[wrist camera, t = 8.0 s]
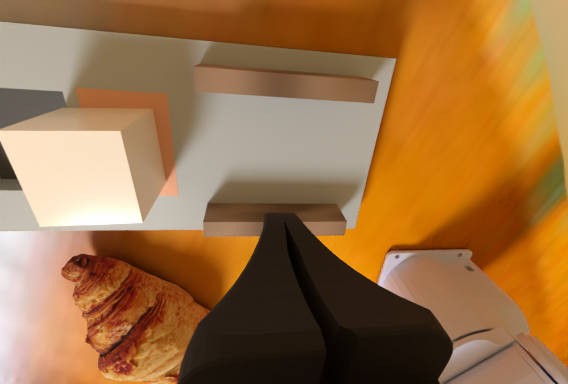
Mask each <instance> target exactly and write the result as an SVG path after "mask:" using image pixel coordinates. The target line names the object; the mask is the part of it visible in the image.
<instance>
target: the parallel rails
mask: <svg viewBox="0 0 568 384" xmlns="http://www.w3.org/2000/svg"><path fill="white" fill-rule="evenodd" d="M193 78H194V92H208V93H223V94H238V95H253V96H268V97H283V98H298V99H314V100H329V101H344V102H359V103H374V101H375V97H376V93H377V88H378V84H379V81H376V80H372V79H369V78H365V77H359V76H346V75H334V74H322V73H309V72H297V71H285V70H272V69H260V68H248V67H235V66H223V65H211V64H198V65H195V66H193ZM266 213H295V214H296V215H297V216H298V217H299V219H300V220H301V221H302V222H303V223H304V224H305V226H306V227H307V228H308V229H309V230H310V231H311V232H312V233H313V234H314V235H315V236H320V235H344V234H345V229H346V225H347V220H346V219H345V217H344V215H343V214H342V212H341V210H340V208H339V207H338V205H337V204H270V203H207V207H206V212H205V216H204V220H203V229H204V237H228V236H260V235H261V232H262V229H263V221H264V215H265V214H266Z"/></svg>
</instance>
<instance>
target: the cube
mask: <svg viewBox="0 0 568 384" xmlns="http://www.w3.org/2000/svg"><path fill="white" fill-rule="evenodd" d="M0 142H1V144H2V146H3V148H4V150H5V152H6V155H7V157H8V159H9V161H10V163H11V165H12V168H13V170H14V172H15V174H16V176H17V178H18V180H19V183H20V185H21V187H22V189H23V191H24V193H25V196H26V198H27V200H28V202H29V204H30V206H31V209H32V211H33V213H34V215H35V217H36V219H37V222H38V224H39V226H40V227H48V226H74V225H100V224H126V223H143V222H144V220H145V218H146V217H147V215H148V213H149V211H150V210H151V208H152V206H153V204H154V203H155V201H156V199H157V197H158V196H159V194H160V192H161V190H162V189H163V187H164V185H165V183H166V178H165V173H164V167H163V162H162V156H161V151H160V145H159V140H158V134H157V129H156V123H155V118H154V113H153V109H141V108H60V109H57V110H55V111H52V112H49V113H46V114H43V115H40V116H37V117H34V118H31V119H28V120H25V121H22V122H19V123H16V124H14V125H11V126H8V127H5V128H2V129H0Z"/></svg>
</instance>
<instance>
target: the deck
mask: <svg viewBox="0 0 568 384" xmlns="http://www.w3.org/2000/svg"><path fill="white" fill-rule="evenodd" d="M395 62H396V59H395V58H384V57H373V56H363V55H352V54H341V53H331V52H320V51H309V50H299V49H288V48H277V47H267V46H256V45H245V44H235V43H224V42H213V41H203V40H192V39H181V38H171V37H160V36H149V35H138V34H128V33H117V32H106V31H96V30H85V29H74V28H64V27H53V26H42V25H32V24H21V23H10V22H0V129H2V128H5V127H8V126H11V125H14V124H16V123H19V122H22V121H25V120H28V119H31V118H34V117H37V116H40V115H43V114H46V113H49V112H52V111H55V110H57V109H60V108H141V109H153V113H154V118H155V123H156V129H157V134H158V140H159V145H160V151H161V156H162V162H163V167H164V173H165V178H166V183H165V185H164V187H163V189H162V190H161V192H160V194H159V196H158V197H157V199H156V201H155V203H154V204H153V206H152V208H151V210H150V211H149V213H148V215H147V217H146V218H145V220H144V222H143V223H126V224H100V225H74V226H48V227H40V226H39V224H38V222H37V219H36V217H35V215H34V213H33V211H32V209H31V206H30V204H29V202H28V200H27V198H26V196H25V193H24V191H23V189H22V187H21V185H20V183H19V180H18V178H17V176H16V174H15V172H14V170H13V168H12V165H11V163H10V161H9V159H8V157H7V155H6V152H5V150H4V148H3V146H2V144H1V142H0V231H77V230H204V229H203V220H204V216H205V212H206V207H207V203H270V204H337V205H338V207H339V208H340V210H341V212H342V214H343V215H344V217H345V219H346V220H347V225H346V229H355V225H356V221H357V217H358V213H359V209H360V205H361V201H362V197H363V192H364V188H365V184H366V180H367V176H368V172H369V168H370V164H371V160H372V156H373V152H374V148H375V144H376V140H377V135H378V131H379V127H380V123H381V119H382V115H383V111H384V107H385V103H386V99H387V95H388V91H389V87H390V83H391V78H392V74H393V70H394V66H395ZM198 64H211V65H223V66H235V67H248V68H260V69H272V70H285V71H297V72H309V73H322V74H334V75H346V76H359V77H365V78H369V79H372V80H376V81H379V84H378V88H377V93H376V97H375V101H374V103H359V102H344V101H329V100H314V99H298V98H283V97H268V96H253V95H238V94H223V93H208V92H194V78H193V66H195V65H198Z"/></svg>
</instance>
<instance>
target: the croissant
mask: <svg viewBox="0 0 568 384" xmlns="http://www.w3.org/2000/svg"><path fill="white" fill-rule="evenodd" d="M61 274H62V276H63V277H64V278H66V279H68V280H70V281H72V282H73V284H74V285H75V290H74V293H73V298H74V299H75V305H77V306H78V307H79V309H80V310H81V311H82V313H83V314H82V317H83V318H84V319H85V320H86V321H87V328H88V334H87V335H86V337H87V338H86V341H85V342H86V343H88V344H90V345H91V346H92V347H93V348H94V349H95V350H96V351H97V352H99V353H100V356H99V359H98V367H99V371H100V372H101V373H102V374H103V375H104V376H105V377H106V379H109V378H111V379H113V380H117V381H123V382H124V380H126V381H143V382H147V383H150V384H177V381H178V376H179V371H180V366H181V363H182V360H183V357H184V354H185V351H186V349H187V346H188V344H189V342H190V340H191V337H192V335H193V333H194V331H195V329H196V327H197V325H198V323H199V322H200V321H201V320H202V319H203V318H204V317H205V316H206V315H207V314H208V313H209V312H210V311H211V310H209V309H207V308H204V307H202V306H201V305H199V304H197V303H196V302H195V301H194V299H193V298H192V296H191V295H190V294H189V293H187V292H186V291H185V290H183V289H182V288H181V287H179V286H178V285H176V284H173V283H171V282H168V281H164V280H162V279H160V278H158V277H156V276H154V275H152V274H149V273H146V272H144V271H142V270H140V269H138V268H136V267H133V266H131V265H130V264H128V263H126V262H124V261H121V260H118V259H114V258H109V257H101V256H93V255H86V254H80V255H78V256H73V257H72V258H71V259H70V260H69V261H68V262H67V264H66V265H65V266H64V267H63V268H62V272H61Z"/></svg>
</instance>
